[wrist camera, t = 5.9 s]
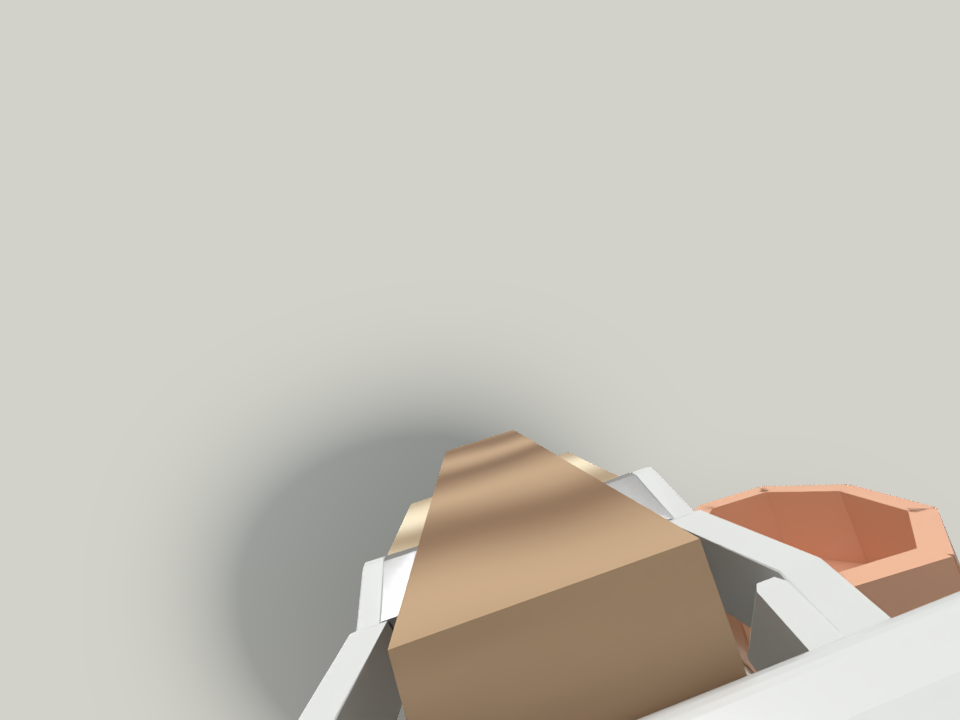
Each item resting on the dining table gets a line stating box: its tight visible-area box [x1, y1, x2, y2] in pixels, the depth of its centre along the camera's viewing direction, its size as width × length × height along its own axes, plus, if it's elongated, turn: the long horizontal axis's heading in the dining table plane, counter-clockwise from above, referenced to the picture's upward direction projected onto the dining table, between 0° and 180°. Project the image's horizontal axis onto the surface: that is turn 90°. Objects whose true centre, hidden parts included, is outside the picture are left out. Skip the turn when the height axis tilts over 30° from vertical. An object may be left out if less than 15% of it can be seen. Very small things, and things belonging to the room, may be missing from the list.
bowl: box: [694, 484, 960, 673], centre depth 16 cm, size 9×9×4 cm
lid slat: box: [388, 430, 747, 720], centre depth 14 cm, size 19×4×2 cm, turn 4°
